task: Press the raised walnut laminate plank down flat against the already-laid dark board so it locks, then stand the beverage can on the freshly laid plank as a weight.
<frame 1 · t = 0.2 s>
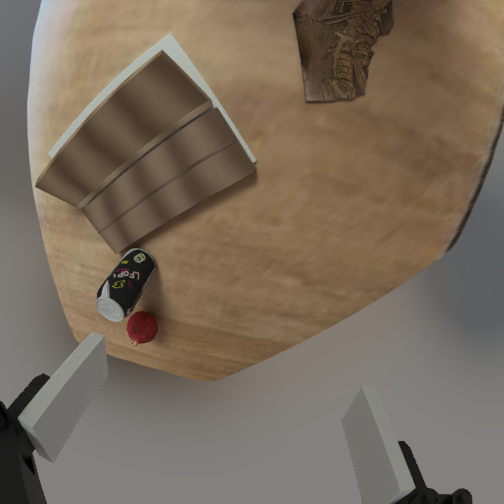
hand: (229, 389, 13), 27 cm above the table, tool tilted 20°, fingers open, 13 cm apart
pomegranate: (149, 312, 52), on the table
underlay mat: (132, 151, 34), on the table
beverage can: (142, 259, 45), on the table
laid board: (158, 187, 37), resting on underlay mat
wooden fragment: (344, 13, 22), on the table
plank: (108, 143, 30), point 4 cm above the table, hinge at 35.0°
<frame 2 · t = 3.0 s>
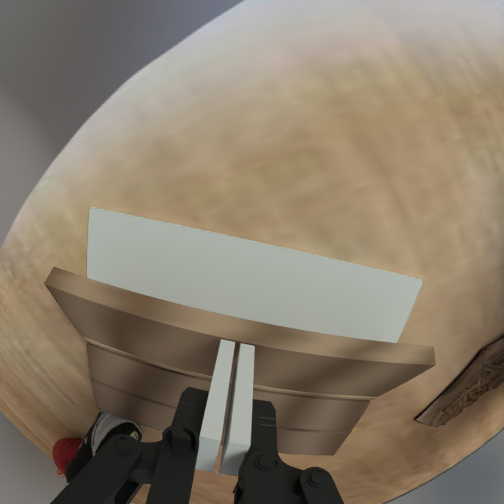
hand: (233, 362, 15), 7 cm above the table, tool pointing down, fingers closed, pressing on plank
pomegranate: (81, 439, 29), on the table
underlay mat: (234, 357, 23), on the table
beverage can: (122, 421, 26), on the table
laid board: (222, 405, 24), resting on underlay mat
wooden fragment: (495, 360, 23), on the table
plank: (236, 358, 18), point 4 cm above the table, hinge at 32.6°, touching gripper
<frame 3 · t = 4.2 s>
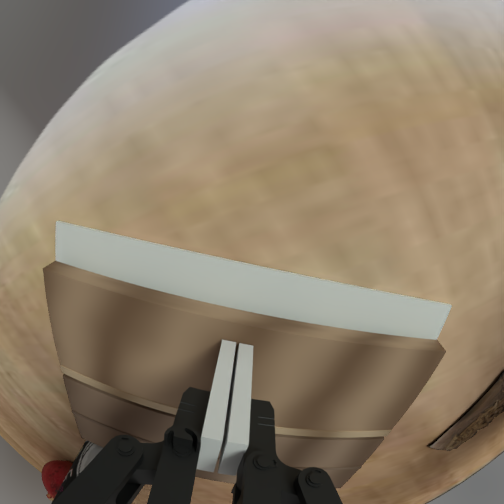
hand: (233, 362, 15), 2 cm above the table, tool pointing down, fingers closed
pomegranate: (71, 461, 25), on the table
underlay mat: (229, 396, 18), on the table
beverage can: (111, 449, 22), on the table
laid board: (218, 442, 20), resting on underlay mat
plank: (235, 378, 16), point 1 cm above the table, hinge at 3.3°, touching gripper
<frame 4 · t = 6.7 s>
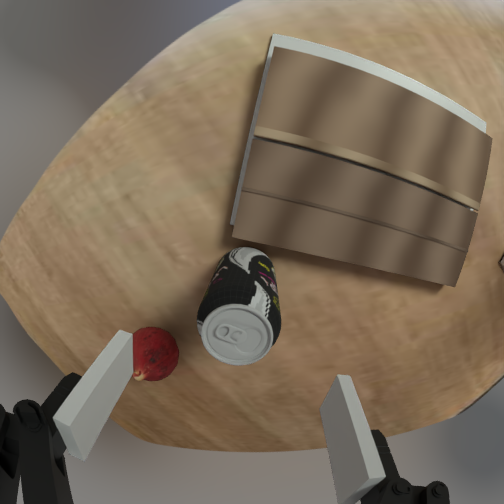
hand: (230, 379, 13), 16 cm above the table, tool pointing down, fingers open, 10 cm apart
pomegranate: (162, 334, 31), on the table
underlay mat: (385, 158, 25), on the table
beverage can: (246, 271, 29), on the table
laid board: (370, 218, 27), resting on underlay mat
plank: (395, 129, 23), point 1 cm above the table, hinge at 3.2°
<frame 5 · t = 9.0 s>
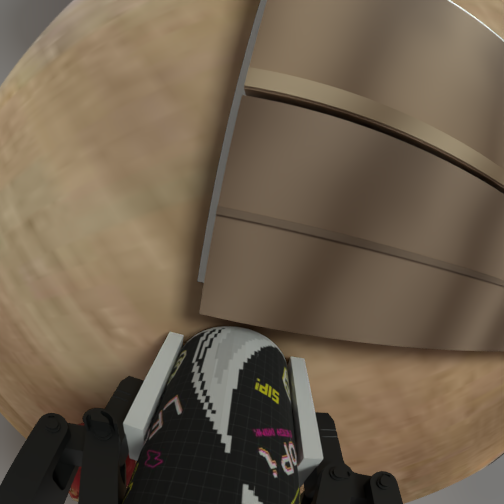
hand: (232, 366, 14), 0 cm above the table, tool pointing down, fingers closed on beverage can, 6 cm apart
pomegranate: (114, 424, 17), on the table
underlay mat: (482, 156, 11), on the table
beverage can: (233, 360, 15), on the table, touching gripper
laid board: (457, 263, 13), resting on underlay mat
plank: (500, 107, 9), point 1 cm above the table, hinge at 3.2°
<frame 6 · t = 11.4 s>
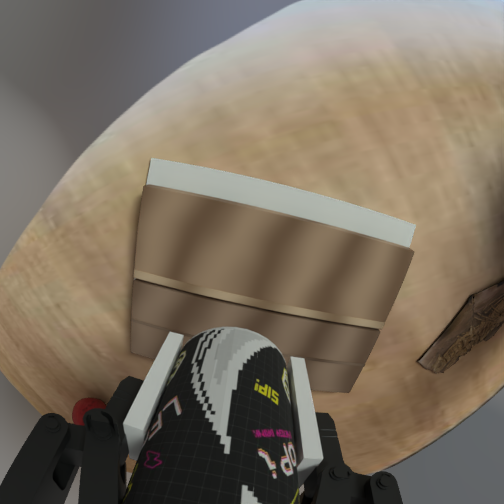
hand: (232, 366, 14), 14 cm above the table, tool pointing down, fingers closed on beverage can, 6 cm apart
pomegranate: (101, 400, 34), on the table
underlay mat: (267, 287, 28), on the table
beverage can: (233, 361, 15), point 13 cm above the table, touching gripper
laid board: (252, 339, 30), resting on underlay mat
wooden fragment: (483, 312, 30), on the table
plank: (276, 263, 26), point 1 cm above the table, hinge at 3.2°
when the fingers open (3 cm above the table, at t = 14.1 s): beverage can drops 1 cm, resting on plank.
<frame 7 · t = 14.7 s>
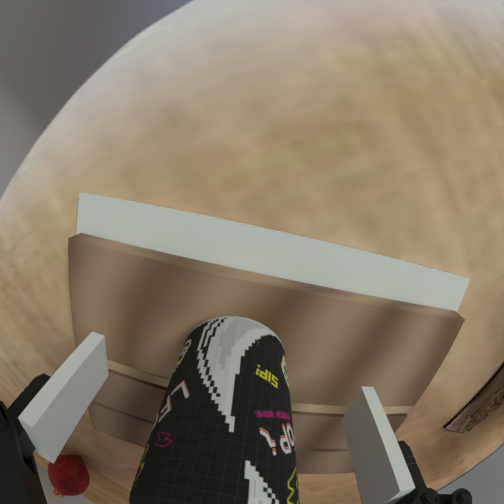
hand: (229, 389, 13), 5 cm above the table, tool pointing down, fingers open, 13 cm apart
pomegranate: (78, 455, 25), on the table
underlay mat: (257, 374, 18), on the table
beverage can: (235, 348, 16), point 2 cm above the table, touching plank
laid board: (240, 426, 20), resting on underlay mat
plank: (268, 350, 17), point 1 cm above the table, hinge at 0.9°, touching beverage can
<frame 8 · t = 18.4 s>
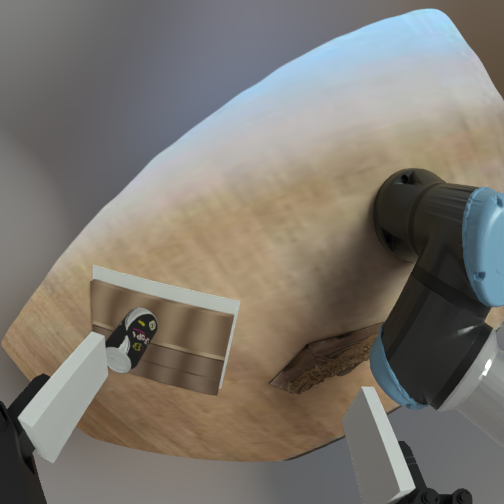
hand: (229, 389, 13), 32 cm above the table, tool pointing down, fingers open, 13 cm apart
underlay mat: (157, 331, 48), on the table
beverage can: (144, 319, 46), point 2 cm above the table, touching plank
laid board: (155, 357, 50), resting on underlay mat
wooden fragment: (331, 355, 49), on the table
plank: (156, 321, 46), point 1 cm above the table, hinge at 0.9°, touching beverage can
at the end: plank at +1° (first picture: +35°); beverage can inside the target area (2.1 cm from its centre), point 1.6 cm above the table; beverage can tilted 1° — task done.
